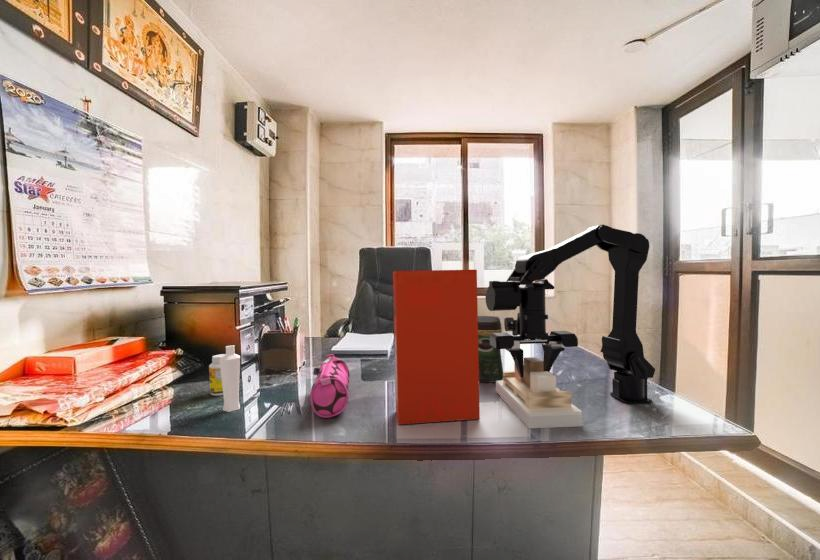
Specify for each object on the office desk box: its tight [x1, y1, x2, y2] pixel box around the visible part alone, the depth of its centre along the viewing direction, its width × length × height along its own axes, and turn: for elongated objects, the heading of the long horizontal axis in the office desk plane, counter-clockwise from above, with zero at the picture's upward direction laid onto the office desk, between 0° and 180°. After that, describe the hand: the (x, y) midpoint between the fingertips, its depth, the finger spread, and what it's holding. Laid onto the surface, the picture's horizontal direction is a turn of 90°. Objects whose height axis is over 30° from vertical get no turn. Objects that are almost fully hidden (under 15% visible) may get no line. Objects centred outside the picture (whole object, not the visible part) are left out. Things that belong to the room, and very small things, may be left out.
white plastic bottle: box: [219, 344, 241, 413], centre depth 84 cm, size 5×4×15 cm
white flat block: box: [495, 379, 583, 430], centre depth 82 cm, size 11×22×3 cm, turn 3°
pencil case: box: [309, 353, 350, 419], centre depth 87 cm, size 21×10×10 cm, turn 11°
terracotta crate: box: [513, 360, 524, 382], centre depth 87 cm, size 4×4×4 cm
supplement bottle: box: [208, 353, 226, 397], centre depth 96 cm, size 6×6×10 cm
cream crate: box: [530, 371, 557, 392], centre depth 77 cm, size 4×4×4 cm
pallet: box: [502, 356, 572, 409], centre depth 82 cm, size 9×17×8 cm, turn 3°
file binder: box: [392, 269, 481, 425], centre depth 78 cm, size 8×17×32 cm, turn 97°
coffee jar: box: [478, 315, 504, 383], centre depth 104 cm, size 10×8×19 cm
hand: (533, 376), depth 82 cm, fingers open, 5 cm apart
